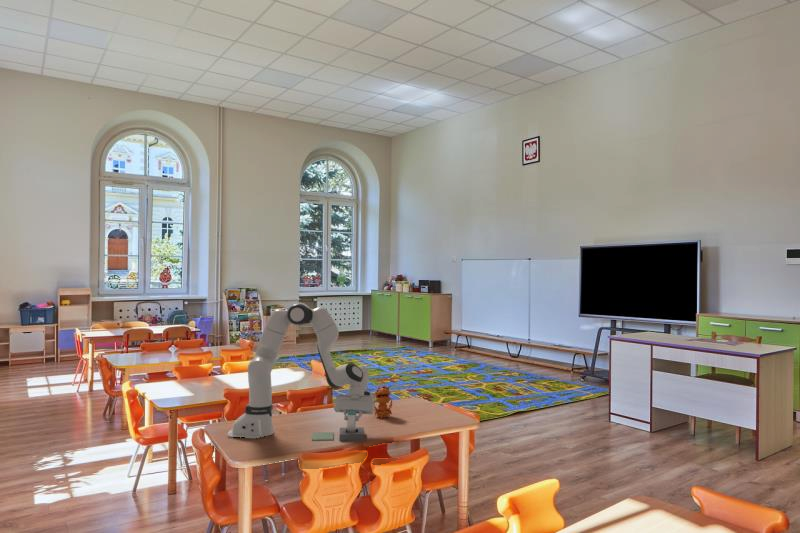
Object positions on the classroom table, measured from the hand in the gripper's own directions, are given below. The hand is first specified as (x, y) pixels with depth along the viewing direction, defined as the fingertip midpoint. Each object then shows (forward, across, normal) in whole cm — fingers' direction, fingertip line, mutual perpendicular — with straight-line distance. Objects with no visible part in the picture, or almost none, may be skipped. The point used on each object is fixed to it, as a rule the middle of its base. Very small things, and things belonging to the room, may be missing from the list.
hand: (351, 420), depth 266 cm
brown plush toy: (-26, +7, +39) cm, 47 cm away
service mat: (+8, -14, +5) cm, 17 cm away
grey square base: (+6, 0, +7) cm, 10 cm away
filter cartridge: (+4, 0, +5) cm, 7 cm away
